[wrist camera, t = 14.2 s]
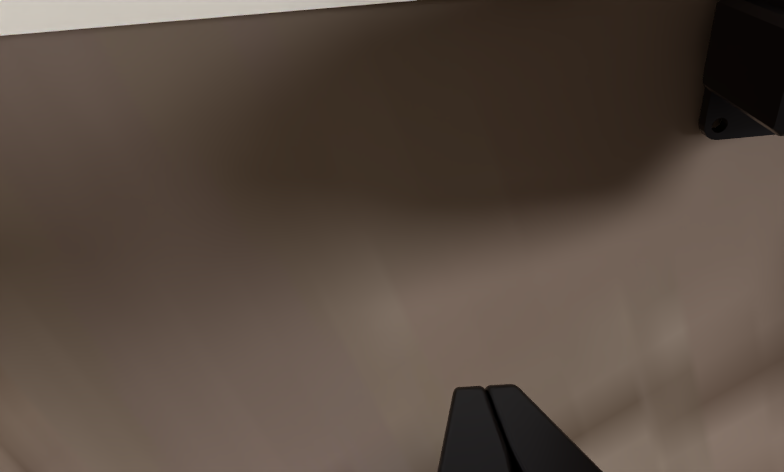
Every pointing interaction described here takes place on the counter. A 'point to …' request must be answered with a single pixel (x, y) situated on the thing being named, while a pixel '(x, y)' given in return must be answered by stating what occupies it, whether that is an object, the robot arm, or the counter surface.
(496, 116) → the counter surface
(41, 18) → the domino mat
